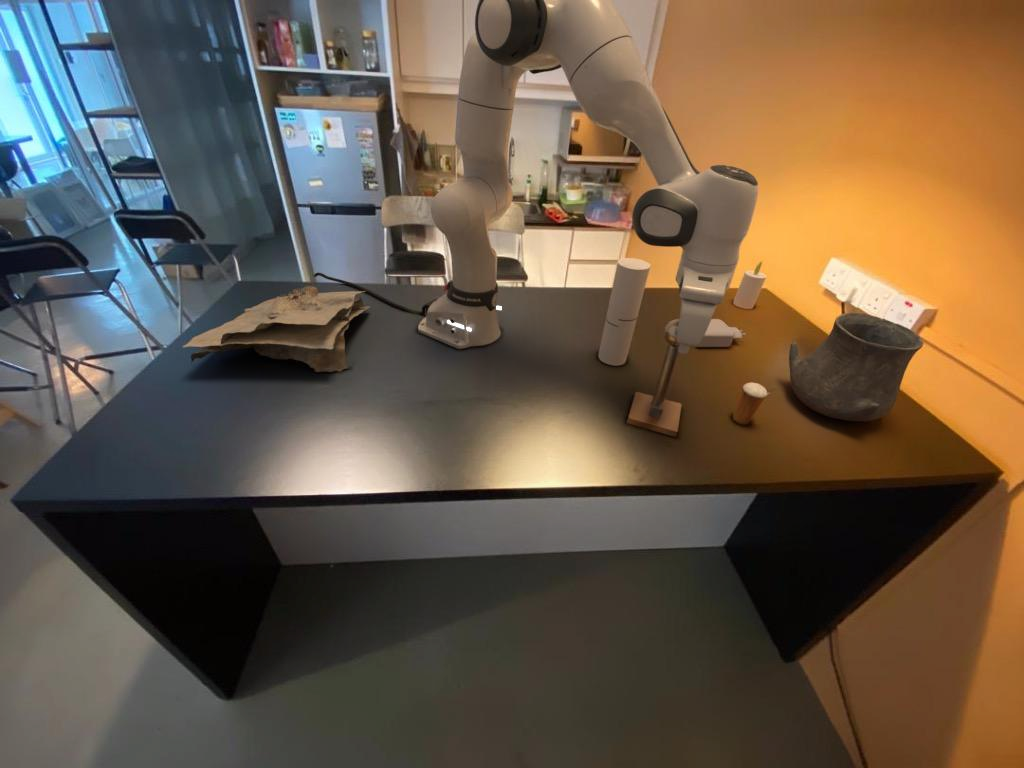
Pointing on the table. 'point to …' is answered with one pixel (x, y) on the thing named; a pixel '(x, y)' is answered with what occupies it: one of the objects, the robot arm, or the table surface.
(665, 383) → the ball topped rod
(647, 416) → the holder base
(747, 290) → the candle
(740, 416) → the milkshake
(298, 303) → the crumpled cardboard stack
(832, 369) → the vessel
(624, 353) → the cylindrical container
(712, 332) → the charger
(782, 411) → the table surface
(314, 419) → the table surface
